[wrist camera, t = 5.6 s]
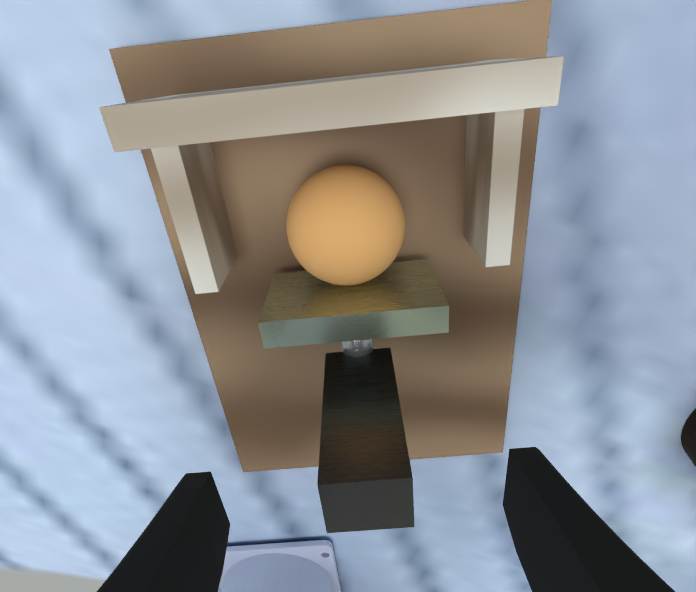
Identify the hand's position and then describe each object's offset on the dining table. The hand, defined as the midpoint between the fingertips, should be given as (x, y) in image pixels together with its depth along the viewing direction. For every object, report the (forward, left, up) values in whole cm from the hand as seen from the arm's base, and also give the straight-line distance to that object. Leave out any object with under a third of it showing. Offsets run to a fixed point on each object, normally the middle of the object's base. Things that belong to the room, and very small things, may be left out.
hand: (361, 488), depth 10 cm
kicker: (0, 0, -8) cm, 8 cm away
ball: (+4, 0, -7) cm, 8 cm away
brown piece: (0, 0, -9) cm, 9 cm away
